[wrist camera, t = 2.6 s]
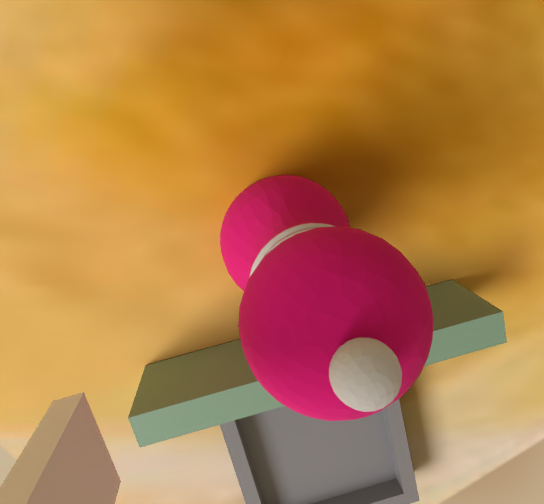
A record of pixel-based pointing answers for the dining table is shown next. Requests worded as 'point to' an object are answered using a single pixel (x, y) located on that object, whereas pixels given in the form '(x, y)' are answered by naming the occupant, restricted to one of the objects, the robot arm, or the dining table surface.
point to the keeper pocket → (322, 458)
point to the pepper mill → (323, 302)
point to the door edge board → (250, 393)
